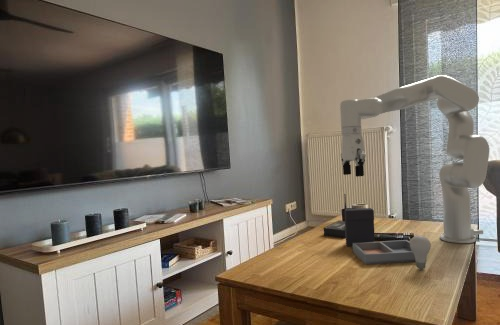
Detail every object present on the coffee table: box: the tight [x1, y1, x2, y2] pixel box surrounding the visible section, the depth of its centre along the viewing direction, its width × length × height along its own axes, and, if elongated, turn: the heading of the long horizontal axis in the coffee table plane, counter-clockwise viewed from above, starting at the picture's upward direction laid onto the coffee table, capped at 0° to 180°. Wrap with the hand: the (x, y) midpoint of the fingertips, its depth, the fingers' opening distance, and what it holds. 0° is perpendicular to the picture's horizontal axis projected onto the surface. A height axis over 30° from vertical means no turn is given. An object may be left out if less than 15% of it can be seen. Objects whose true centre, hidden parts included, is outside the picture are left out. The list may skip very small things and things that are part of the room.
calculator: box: [343, 207, 376, 248], centre depth 137 cm, size 11×4×15 cm, turn 84°
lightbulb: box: [410, 235, 432, 271], centre depth 108 cm, size 6×6×11 cm
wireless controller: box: [323, 193, 348, 239], centre depth 159 cm, size 20×14×17 cm
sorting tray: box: [352, 239, 416, 266], centre depth 122 cm, size 21×14×4 cm, turn 90°
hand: (353, 175), depth 131 cm, fingers open, 9 cm apart
